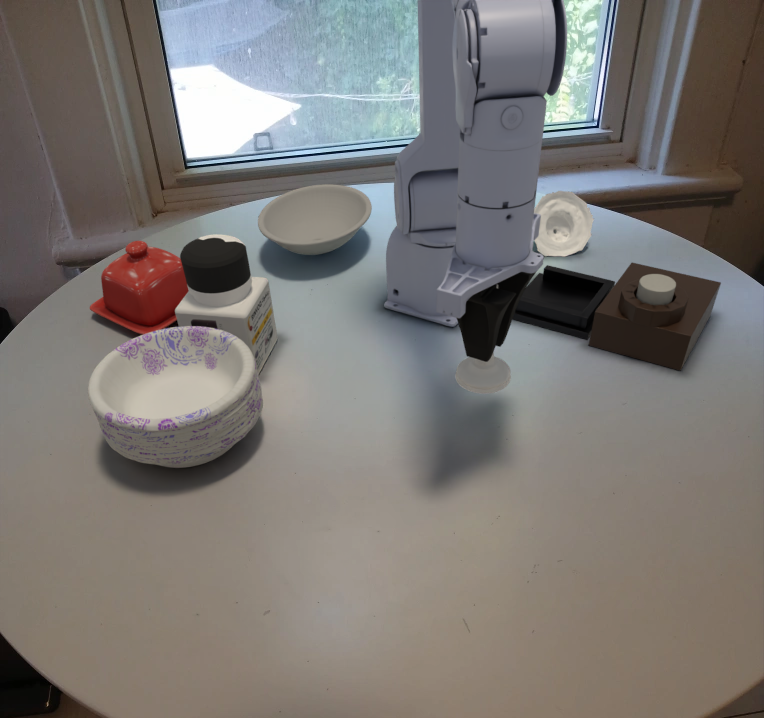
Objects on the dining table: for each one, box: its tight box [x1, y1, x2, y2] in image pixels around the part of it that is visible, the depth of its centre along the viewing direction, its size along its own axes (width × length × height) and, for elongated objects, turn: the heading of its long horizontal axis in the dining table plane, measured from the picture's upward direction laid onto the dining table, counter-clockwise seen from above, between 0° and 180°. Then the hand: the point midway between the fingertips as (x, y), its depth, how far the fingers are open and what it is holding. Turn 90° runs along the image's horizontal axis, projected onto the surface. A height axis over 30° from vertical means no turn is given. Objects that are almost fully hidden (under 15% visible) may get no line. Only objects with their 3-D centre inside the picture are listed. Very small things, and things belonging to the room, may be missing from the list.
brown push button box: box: [588, 262, 722, 371], centre depth 79 cm, size 10×12×6 cm
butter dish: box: [89, 240, 189, 335], centre depth 86 cm, size 12×12×8 cm
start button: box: [636, 274, 676, 305], centre depth 75 cm, size 4×4×2 cm
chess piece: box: [455, 284, 512, 394], centre depth 62 cm, size 5×5×10 cm
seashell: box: [534, 190, 595, 257], centre depth 95 cm, size 8×5×8 cm
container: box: [175, 233, 279, 375], centre depth 77 cm, size 8×8×13 cm
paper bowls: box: [87, 326, 264, 469], centre depth 69 cm, size 15×15×8 cm
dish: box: [257, 183, 373, 256], centre depth 96 cm, size 18×14×5 cm
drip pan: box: [512, 264, 616, 340], centre depth 85 cm, size 10×10×2 cm
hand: (484, 349), depth 63 cm, fingers closed on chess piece
